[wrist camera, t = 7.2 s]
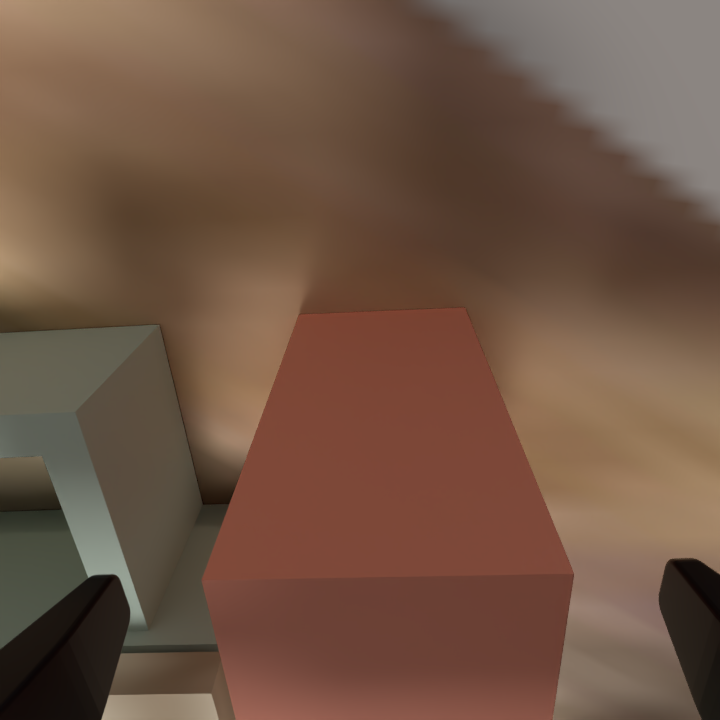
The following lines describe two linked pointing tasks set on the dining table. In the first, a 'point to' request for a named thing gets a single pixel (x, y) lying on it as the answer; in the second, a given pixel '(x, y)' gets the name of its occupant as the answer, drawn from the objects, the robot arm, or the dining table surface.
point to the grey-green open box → (105, 484)
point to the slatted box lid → (169, 688)
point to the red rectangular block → (388, 536)
